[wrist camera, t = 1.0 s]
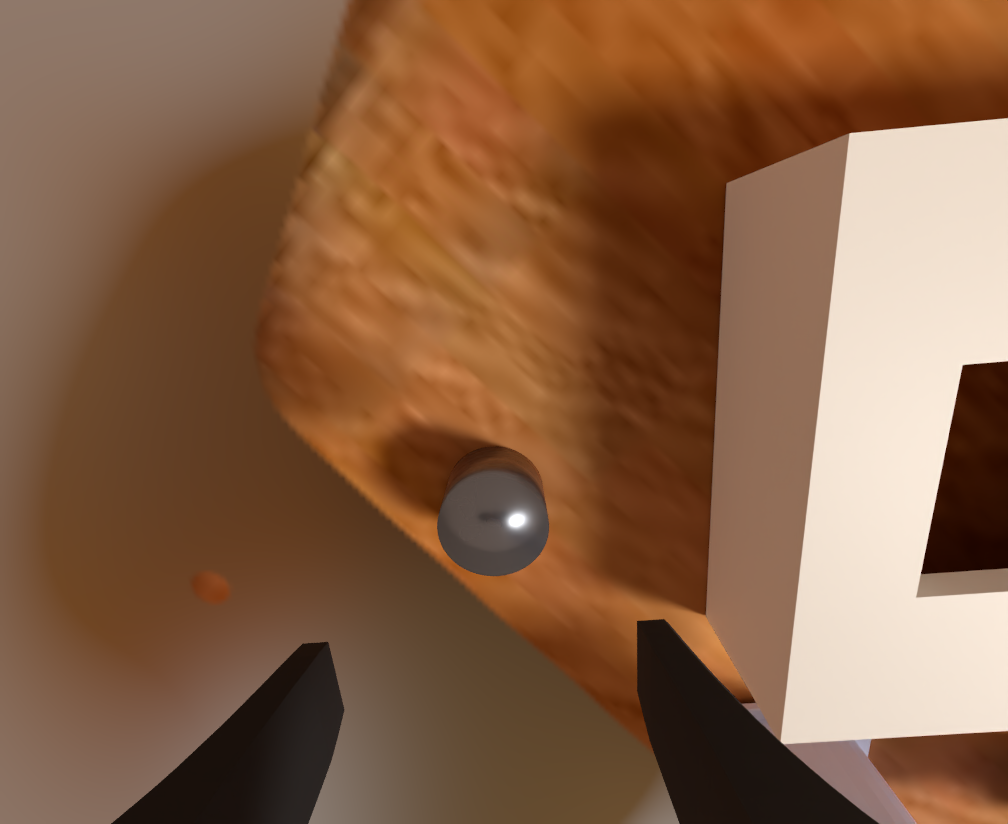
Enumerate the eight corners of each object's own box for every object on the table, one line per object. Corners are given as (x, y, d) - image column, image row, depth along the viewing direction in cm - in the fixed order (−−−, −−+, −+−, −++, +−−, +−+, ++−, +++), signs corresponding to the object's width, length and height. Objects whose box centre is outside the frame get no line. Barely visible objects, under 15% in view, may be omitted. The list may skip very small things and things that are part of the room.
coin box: (1068, 592, 21) (1284, 714, 15) (705, 616, 21) (780, 744, 15) (1208, 138, 16) (1619, 59, 10) (726, 183, 16) (849, 133, 10)
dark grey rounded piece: (545, 529, 20) (552, 572, 17) (453, 535, 20) (444, 579, 17) (539, 442, 19) (545, 472, 16) (441, 449, 19) (430, 481, 16)
